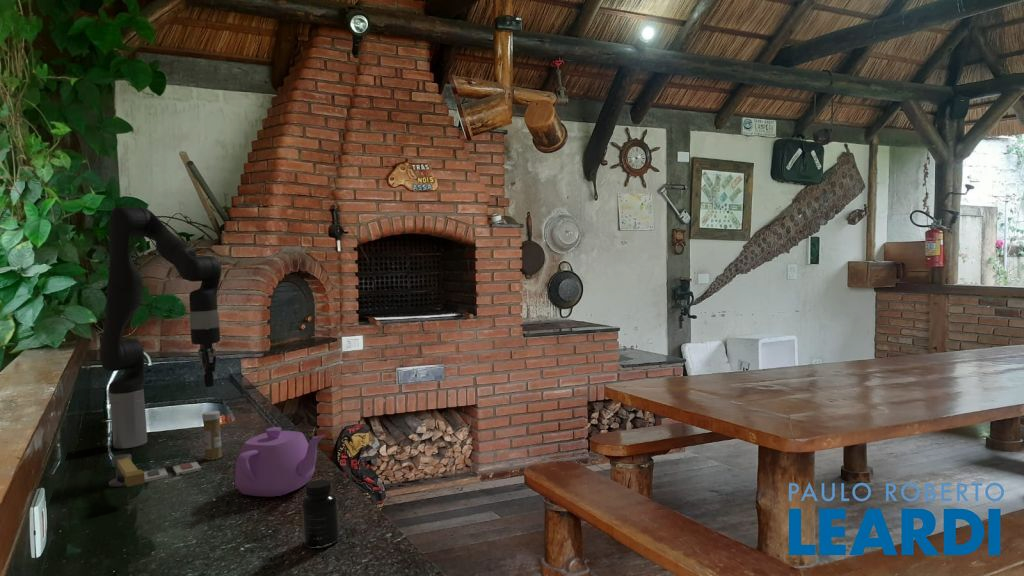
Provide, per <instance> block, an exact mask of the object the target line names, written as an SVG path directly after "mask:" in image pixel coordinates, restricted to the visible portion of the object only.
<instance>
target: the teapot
mask: <svg viewBox="0 0 1024 576" xmlns="http://www.w3.org/2000/svg"><path fill="white" fill-rule="evenodd" d="M325 437H326V435H325V434H322V435H317V436H313V437H312V438H311V439H310V440H309V442H308V440H307V438H306V437H305V435H304V433H303V432H301V431H295V430H282V427H278V426H273V427H269V428H266V429H265V432H264V433H261V434H258V435H256V436H253V437H251V438H249V439H247V440H246V441H245V442H244V443H243V445H242V447H241V449H240V453H239V455H238V456H237V457H236V466H235V472H234V483H235V487H236V488H237V489H238V491H239V492H240V493H241V494H242V495H246V496H254V497H267V498H268V497H272V498H273V497H275V496H280V497H283V496H282V495H284V496H285V494H286V495H287V494H289V493H292V492H295V491H297V490H298V489H300V488H303V486H306V485H307V484H308V483H309V482H310V481H311V479H312V478H313V476H314V473H315V471H316V470H315V469H316V463H317V457H318V450H317V449H318V444H319V442H320V441H321V440H323V438H325ZM275 498H276V497H275Z"/></svg>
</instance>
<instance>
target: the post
mask: <svg viewBox="0 0 1024 576" xmlns="http://www.w3.org/2000/svg"><path fill="white" fill-rule="evenodd" d="M115 472H116V477H115V478H113V479H111V480H109V482H108V487H110V488H123V487H127V485H126V484H125V477H124V476H123V474H122V473H121V471H120V470H119V468H118V467H115Z"/></svg>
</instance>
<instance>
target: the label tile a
mask: <svg viewBox="0 0 1024 576" xmlns="http://www.w3.org/2000/svg"><path fill="white" fill-rule="evenodd" d="M143 472H144V478H145V483H149V482H154V481H158V480H162V479H163V480H164V479H166V478H169V473H168V471H167V469H166V468H165V467H162V468H157V469H151V470H147V471H143Z"/></svg>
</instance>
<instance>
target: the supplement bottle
mask: <svg viewBox="0 0 1024 576" xmlns="http://www.w3.org/2000/svg"><path fill="white" fill-rule="evenodd" d="M331 483H332V482H331V481H330V480H329V479H315V480H312V481H308V482H307V483H306V484H305V496H306V497H305V498H304V499H303V500H302V502H301V514H302V515H301V516H302V528H303V529H302V530H303V543H304V545H305V546H306V547H307V546H309V547H316V546H323V545H326V544H329V543H332V542H334V541H336V540H337V539H338V538H339V539H340V537H339V536H340V523H339V509H338V507H339V506H338V498H337V496H336V495H335V494H334V493H333V492H332V491H333V489H332V484H331Z"/></svg>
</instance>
